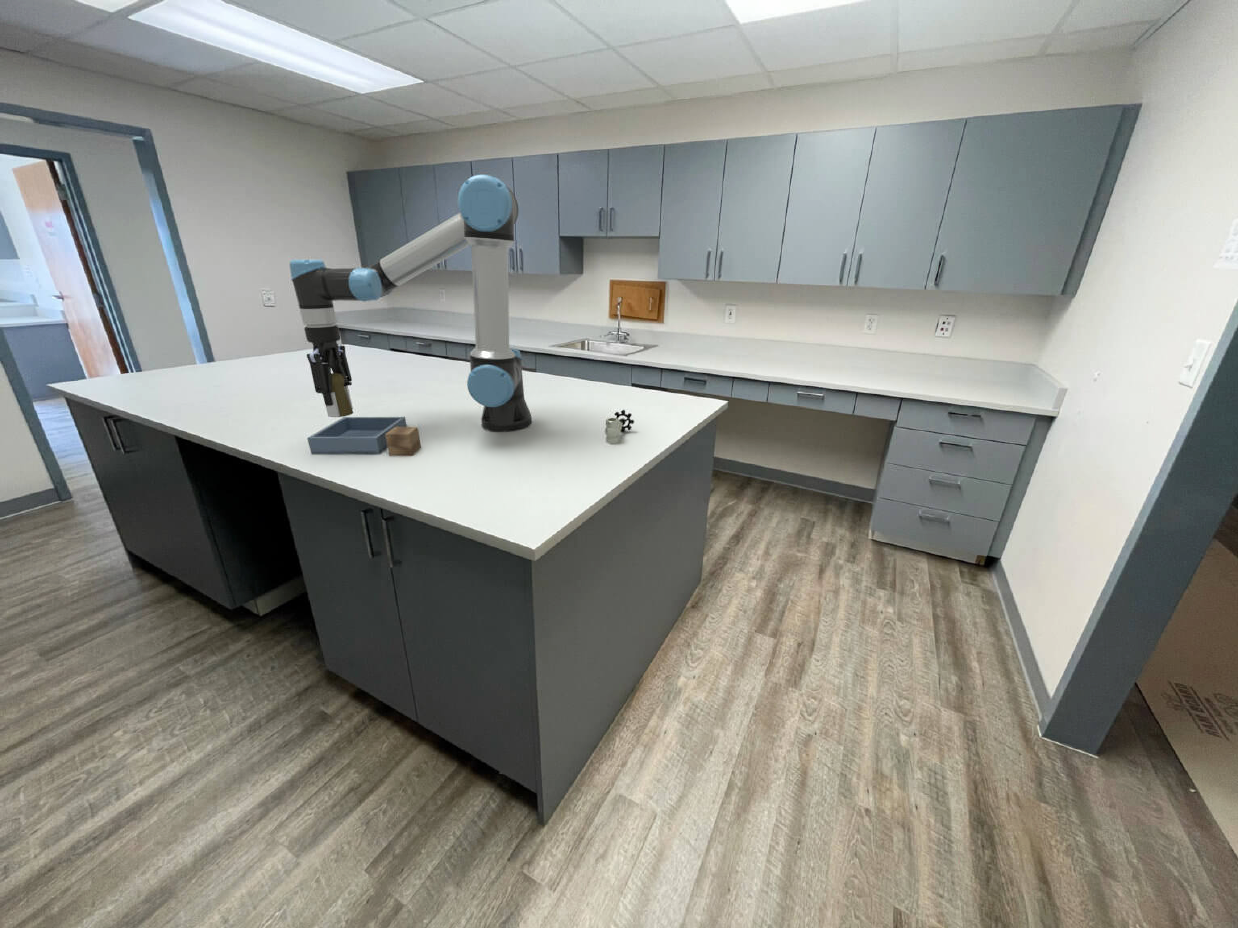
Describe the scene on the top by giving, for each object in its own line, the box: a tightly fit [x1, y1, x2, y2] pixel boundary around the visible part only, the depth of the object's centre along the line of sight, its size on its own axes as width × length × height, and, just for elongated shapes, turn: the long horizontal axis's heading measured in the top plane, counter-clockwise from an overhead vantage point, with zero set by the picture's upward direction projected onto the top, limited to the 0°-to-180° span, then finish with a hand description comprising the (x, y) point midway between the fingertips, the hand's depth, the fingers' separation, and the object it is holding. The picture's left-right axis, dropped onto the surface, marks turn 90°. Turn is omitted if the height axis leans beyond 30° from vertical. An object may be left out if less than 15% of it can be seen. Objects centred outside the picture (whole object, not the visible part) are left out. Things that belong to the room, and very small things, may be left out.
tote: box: [306, 416, 408, 455], centre depth 135 cm, size 18×18×4 cm
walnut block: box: [385, 426, 422, 457], centre depth 128 cm, size 6×6×6 cm
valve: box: [604, 409, 635, 445], centre depth 138 cm, size 7×7×12 cm
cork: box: [331, 372, 354, 418], centre depth 130 cm, size 6×6×11 cm
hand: (340, 412), depth 132 cm, fingers closed on cork, 6 cm apart
